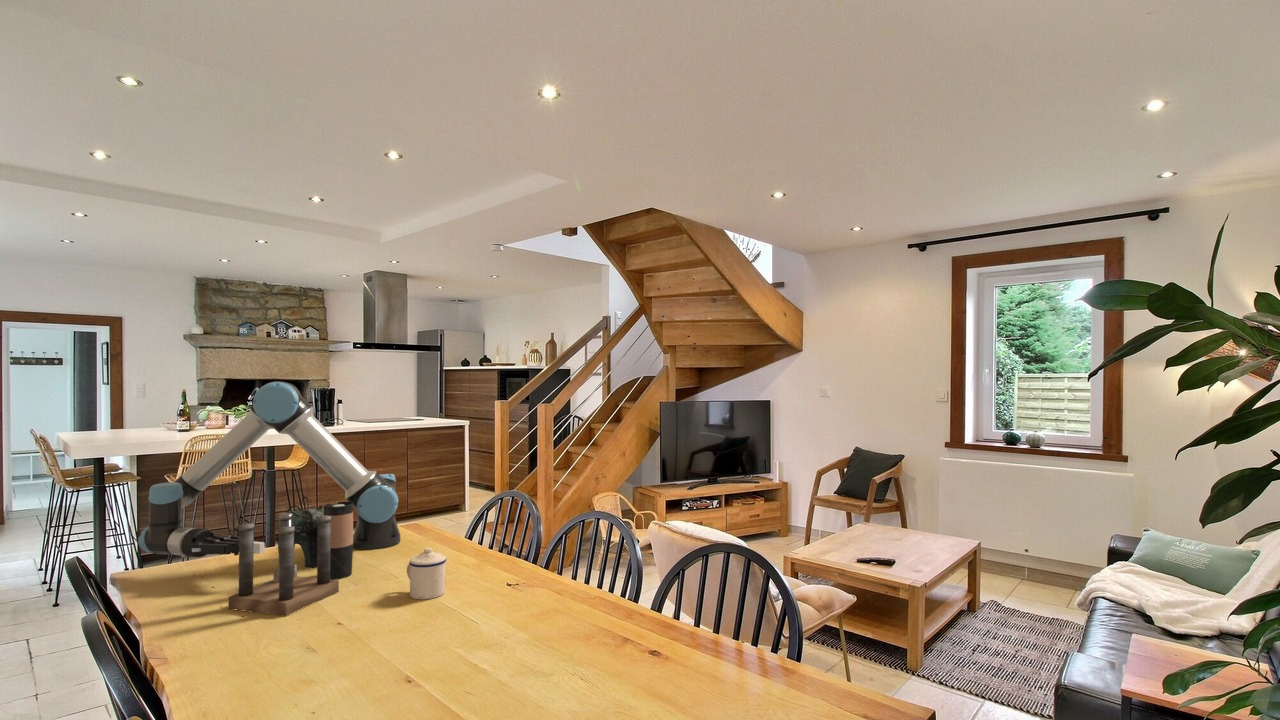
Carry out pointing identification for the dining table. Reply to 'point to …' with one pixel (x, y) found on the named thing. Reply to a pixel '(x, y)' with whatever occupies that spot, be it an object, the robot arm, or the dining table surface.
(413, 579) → the teacup with lid
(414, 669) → the dining table surface
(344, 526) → the travel mug
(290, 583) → the stool
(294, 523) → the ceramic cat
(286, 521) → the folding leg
